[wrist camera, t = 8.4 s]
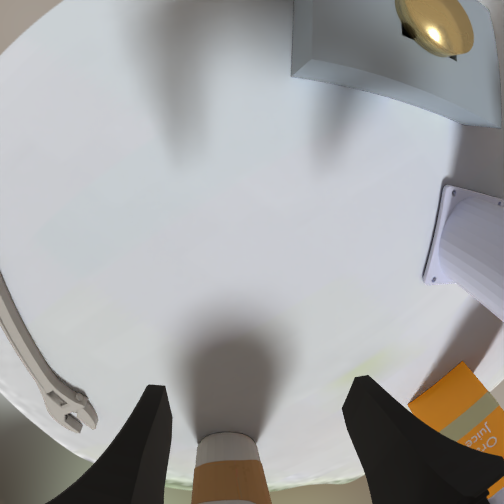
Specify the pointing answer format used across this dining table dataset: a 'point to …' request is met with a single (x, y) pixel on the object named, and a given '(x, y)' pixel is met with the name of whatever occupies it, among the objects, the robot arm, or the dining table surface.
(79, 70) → the dining table surface
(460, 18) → the brass door knob
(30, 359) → the adjustable wrench
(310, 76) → the block
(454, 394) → the orange juice
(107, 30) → the dining table surface
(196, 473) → the coffee cup
